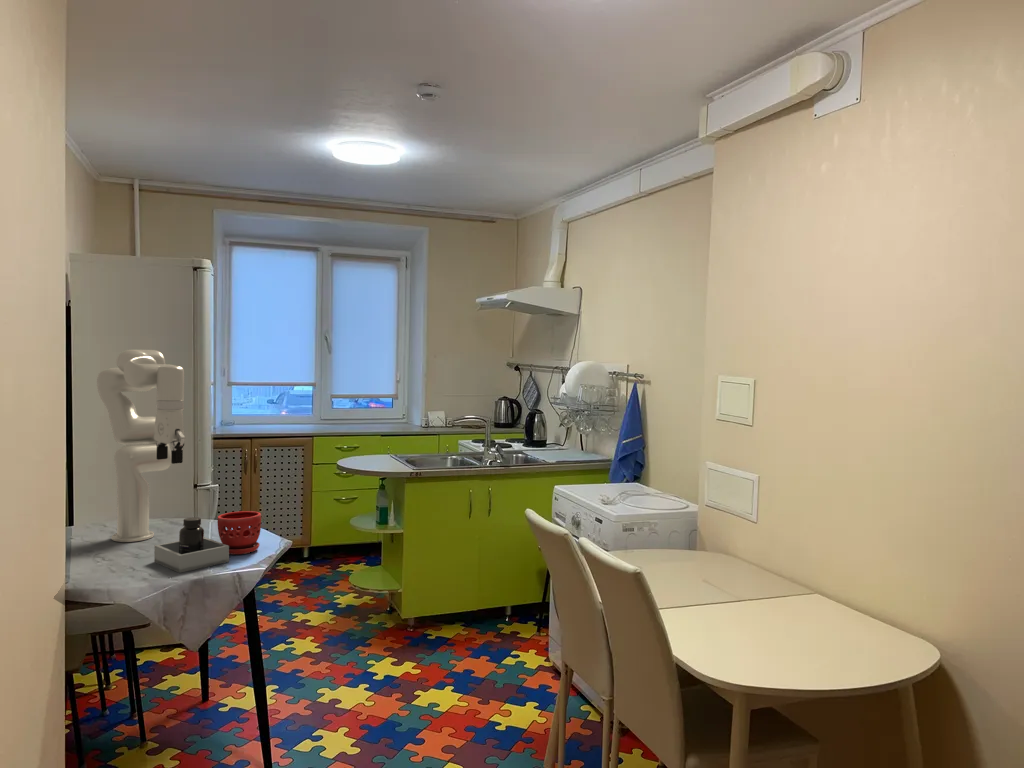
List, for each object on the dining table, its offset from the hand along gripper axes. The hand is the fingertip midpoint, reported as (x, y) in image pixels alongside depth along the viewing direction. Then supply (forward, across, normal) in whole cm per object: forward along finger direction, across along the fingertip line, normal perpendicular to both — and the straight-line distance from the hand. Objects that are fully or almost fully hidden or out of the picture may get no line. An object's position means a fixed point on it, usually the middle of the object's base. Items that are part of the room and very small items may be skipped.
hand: (169, 461), depth 217 cm
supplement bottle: (+29, +11, +2) cm, 31 cm away
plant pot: (+30, +10, +18) cm, 36 cm away
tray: (+30, +11, +2) cm, 32 cm away
